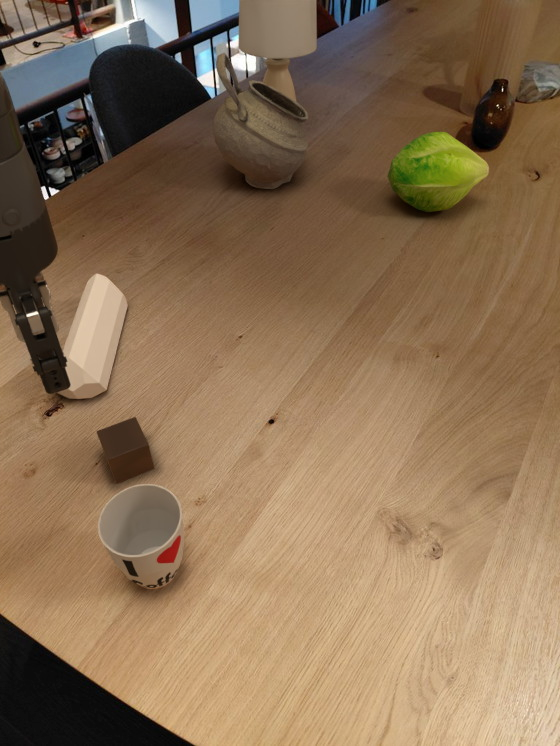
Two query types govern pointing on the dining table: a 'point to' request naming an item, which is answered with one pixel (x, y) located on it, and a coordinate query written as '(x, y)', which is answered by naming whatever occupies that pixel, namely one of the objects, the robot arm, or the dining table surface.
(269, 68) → the lamp
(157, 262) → the dining table surface
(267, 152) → the pot
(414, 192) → the lettuce
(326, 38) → the dining table surface
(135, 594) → the dining table surface
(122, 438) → the walnut block
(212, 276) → the dining table surface
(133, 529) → the cup
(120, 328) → the crystal
